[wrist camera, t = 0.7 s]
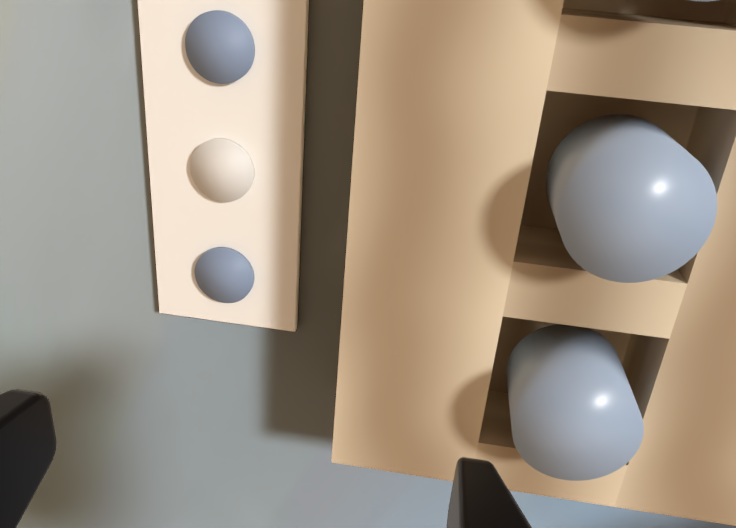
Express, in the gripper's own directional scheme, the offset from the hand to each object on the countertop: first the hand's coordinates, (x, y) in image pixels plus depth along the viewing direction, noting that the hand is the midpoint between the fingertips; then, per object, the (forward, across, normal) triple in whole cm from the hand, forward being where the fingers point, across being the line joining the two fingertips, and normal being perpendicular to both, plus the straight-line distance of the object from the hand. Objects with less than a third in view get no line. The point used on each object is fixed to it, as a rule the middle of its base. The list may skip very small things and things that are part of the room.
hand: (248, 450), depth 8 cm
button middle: (+9, -6, -1) cm, 11 cm away
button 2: (+9, -6, +4) cm, 12 cm away
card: (+11, +4, 0) cm, 12 cm away
